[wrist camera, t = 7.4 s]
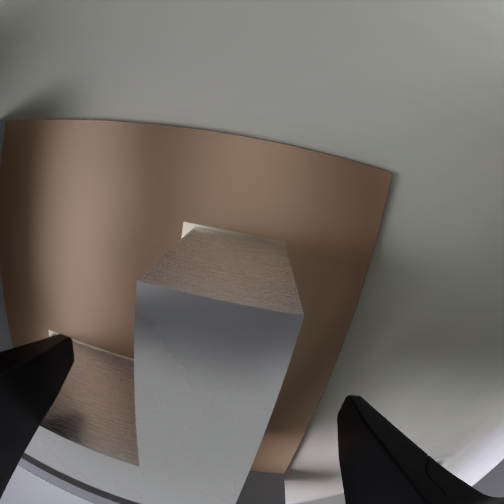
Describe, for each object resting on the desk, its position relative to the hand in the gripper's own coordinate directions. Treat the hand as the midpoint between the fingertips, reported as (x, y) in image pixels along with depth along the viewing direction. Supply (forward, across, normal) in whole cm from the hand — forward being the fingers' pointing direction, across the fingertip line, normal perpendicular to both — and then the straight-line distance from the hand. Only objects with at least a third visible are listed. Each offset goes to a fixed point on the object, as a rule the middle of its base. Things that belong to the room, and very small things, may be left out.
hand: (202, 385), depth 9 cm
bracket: (+3, +3, 0) cm, 4 cm away
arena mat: (+3, +4, +1) cm, 5 cm away
